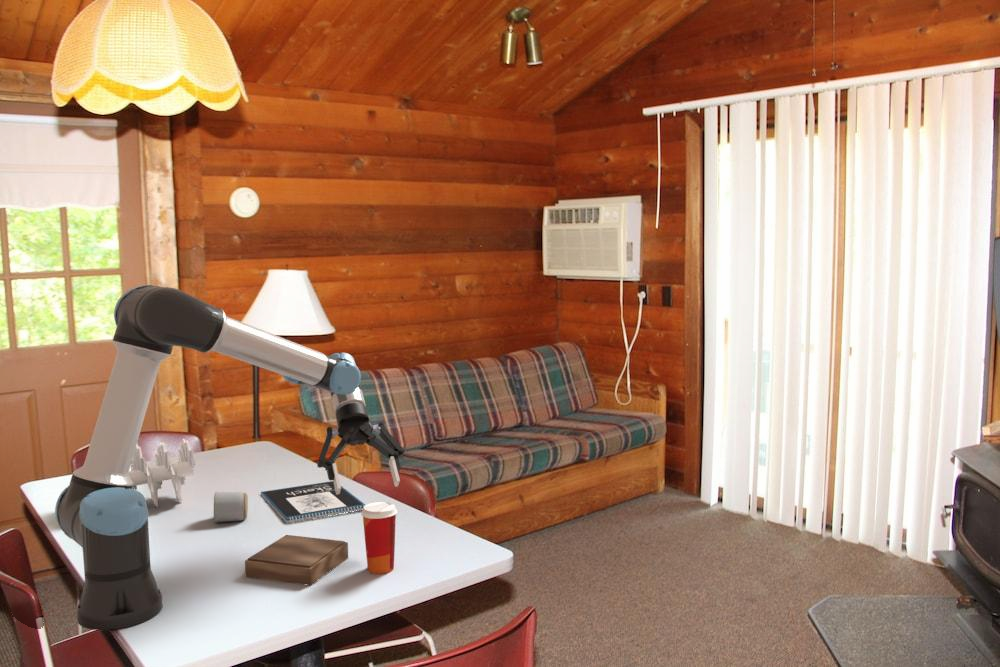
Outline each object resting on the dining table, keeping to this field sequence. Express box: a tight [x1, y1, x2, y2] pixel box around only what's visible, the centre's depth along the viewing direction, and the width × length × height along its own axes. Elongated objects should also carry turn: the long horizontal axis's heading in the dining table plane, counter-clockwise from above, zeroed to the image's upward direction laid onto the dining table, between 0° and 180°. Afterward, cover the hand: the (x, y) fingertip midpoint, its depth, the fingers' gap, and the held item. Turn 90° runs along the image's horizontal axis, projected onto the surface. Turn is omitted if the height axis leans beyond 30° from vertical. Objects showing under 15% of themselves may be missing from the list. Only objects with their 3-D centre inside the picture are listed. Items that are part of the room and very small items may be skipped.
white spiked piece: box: [128, 438, 196, 508], centre depth 229 cm, size 18×18×25 cm
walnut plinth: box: [244, 534, 349, 586], centre depth 186 cm, size 16×16×4 cm
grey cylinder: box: [213, 491, 249, 523], centre depth 219 cm, size 11×8×8 cm
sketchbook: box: [260, 480, 366, 525], centre depth 232 cm, size 22×30×2 cm
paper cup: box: [360, 501, 398, 575], centre depth 184 cm, size 8×8×14 cm
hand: (368, 487), depth 192 cm, fingers open, 13 cm apart
